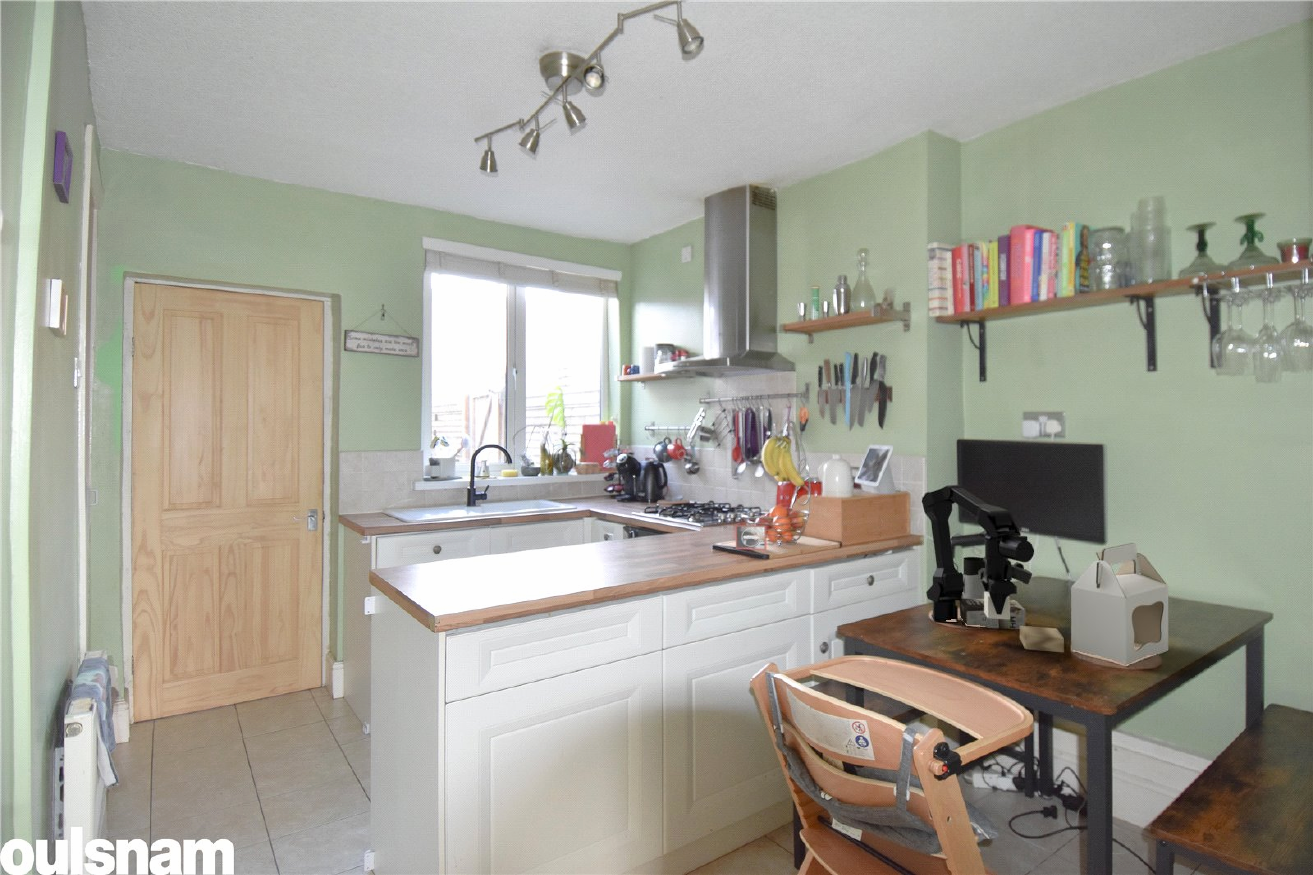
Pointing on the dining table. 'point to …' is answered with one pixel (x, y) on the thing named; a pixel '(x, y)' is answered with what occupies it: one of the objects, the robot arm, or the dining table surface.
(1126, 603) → the gable box
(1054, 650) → the oak block
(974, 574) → the glass holder
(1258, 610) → the dining table surface
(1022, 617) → the coffee box
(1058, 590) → the dining table surface
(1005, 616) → the off-white plain cube
